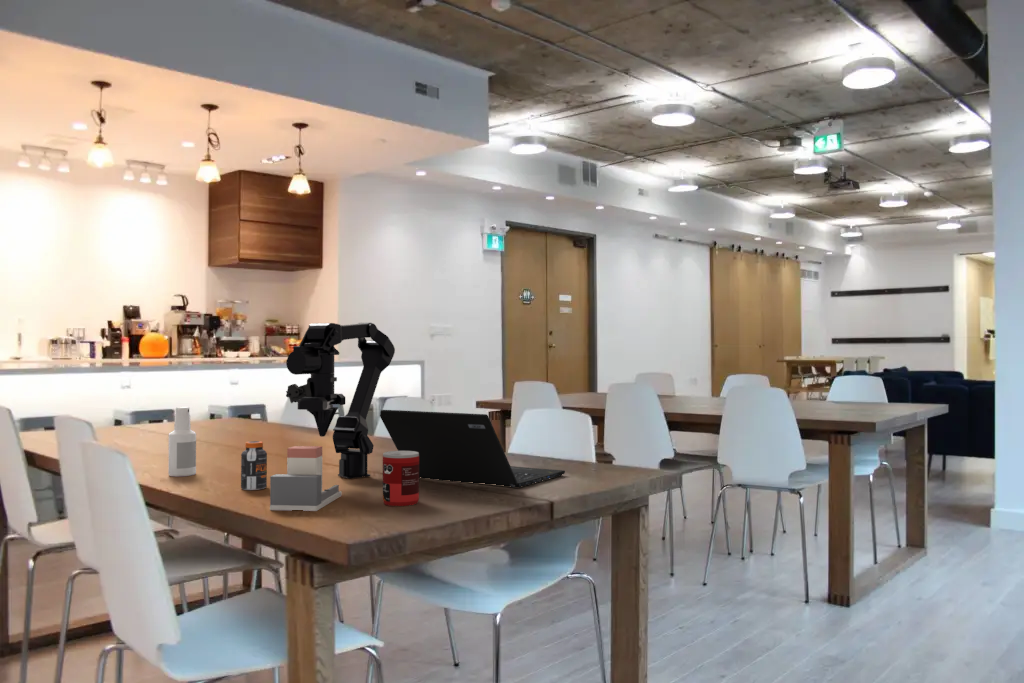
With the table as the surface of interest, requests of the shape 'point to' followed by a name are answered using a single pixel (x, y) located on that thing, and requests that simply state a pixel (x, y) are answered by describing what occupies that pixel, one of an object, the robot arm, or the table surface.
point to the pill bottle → (254, 466)
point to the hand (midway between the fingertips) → (322, 436)
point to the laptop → (458, 448)
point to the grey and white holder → (300, 492)
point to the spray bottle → (182, 446)
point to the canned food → (400, 478)
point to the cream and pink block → (305, 460)
